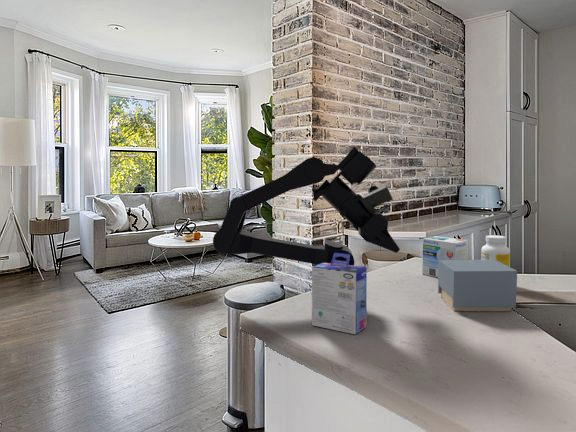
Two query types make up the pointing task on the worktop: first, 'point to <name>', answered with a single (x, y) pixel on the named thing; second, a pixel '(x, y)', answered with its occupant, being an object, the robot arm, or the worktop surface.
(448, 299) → the tray
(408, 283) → the worktop surface
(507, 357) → the worktop surface
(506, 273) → the sleeve
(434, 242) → the light bulb box
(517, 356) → the worktop surface
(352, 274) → the ink cartridge box
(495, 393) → the worktop surface
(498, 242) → the supplement bottle
